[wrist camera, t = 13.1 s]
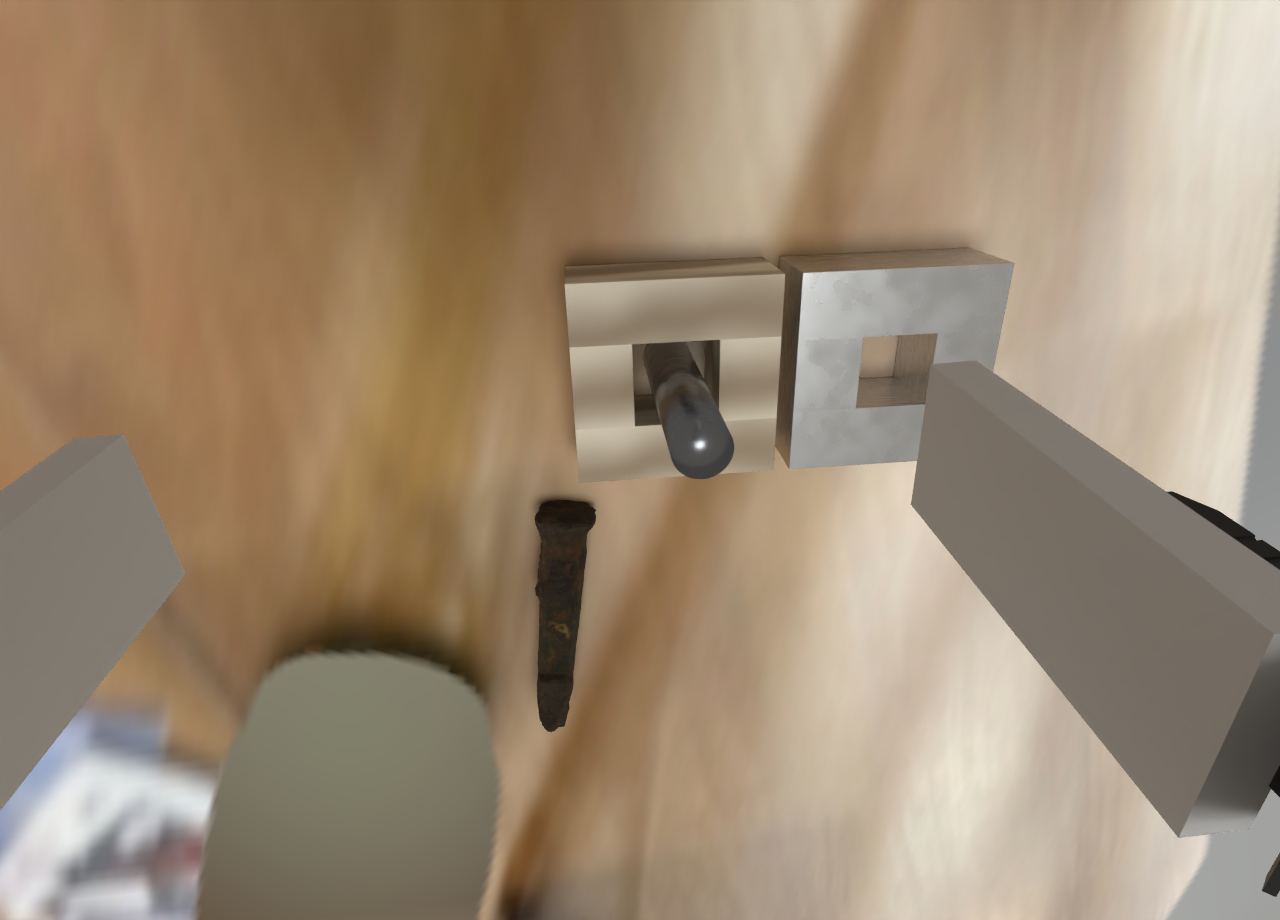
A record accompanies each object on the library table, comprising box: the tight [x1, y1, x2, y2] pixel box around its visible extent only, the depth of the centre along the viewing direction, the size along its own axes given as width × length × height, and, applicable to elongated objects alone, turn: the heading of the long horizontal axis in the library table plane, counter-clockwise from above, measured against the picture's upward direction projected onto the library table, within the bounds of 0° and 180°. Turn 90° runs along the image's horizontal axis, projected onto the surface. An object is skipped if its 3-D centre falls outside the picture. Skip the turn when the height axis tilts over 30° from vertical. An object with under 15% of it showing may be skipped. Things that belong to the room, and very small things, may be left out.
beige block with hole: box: [565, 257, 785, 483], centre depth 44 cm, size 12×12×5 cm
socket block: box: [775, 248, 1014, 469], centre depth 44 cm, size 12×12×5 cm
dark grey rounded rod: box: [643, 342, 734, 479], centre depth 39 cm, size 3×3×14 cm
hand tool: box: [535, 500, 596, 732], centre depth 52 cm, size 19×4×5 cm, turn 172°
